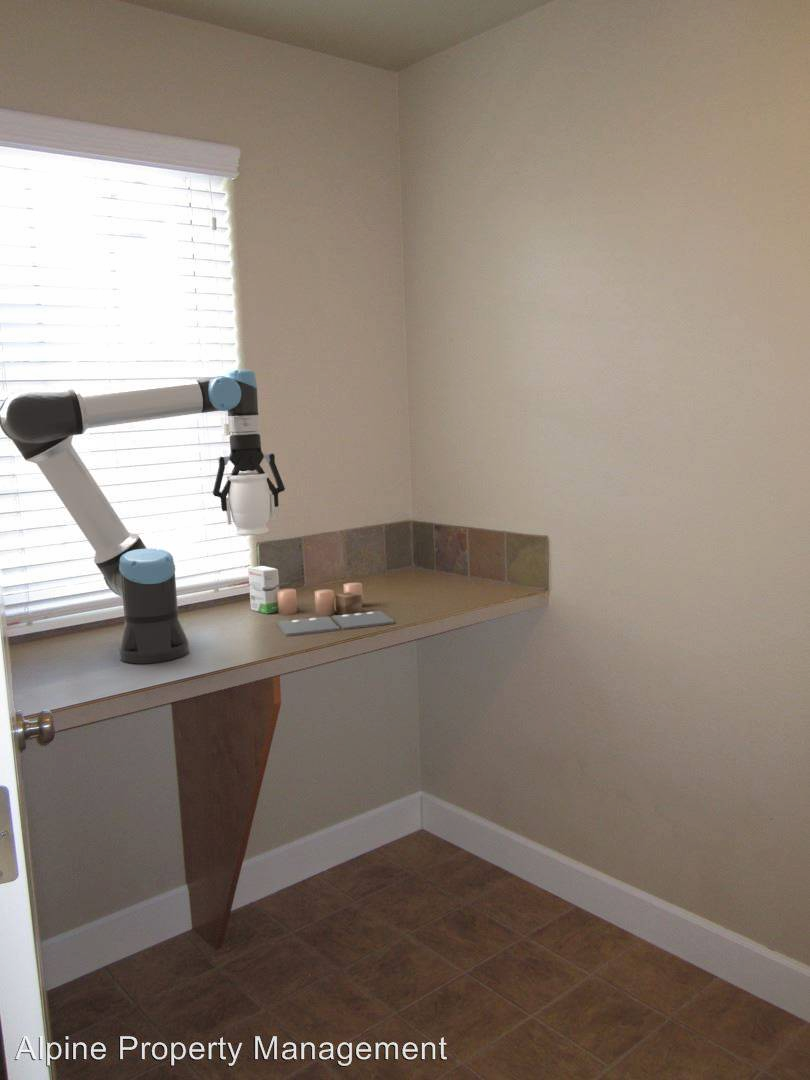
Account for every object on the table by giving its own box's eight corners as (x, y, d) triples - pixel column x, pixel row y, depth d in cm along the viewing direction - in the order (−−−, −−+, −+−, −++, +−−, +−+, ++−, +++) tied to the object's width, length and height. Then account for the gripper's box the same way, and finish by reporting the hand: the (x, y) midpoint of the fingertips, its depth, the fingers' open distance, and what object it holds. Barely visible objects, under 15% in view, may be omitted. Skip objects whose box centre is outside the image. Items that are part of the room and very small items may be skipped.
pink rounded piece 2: (348, 608, 238) (347, 586, 237) (342, 605, 243) (340, 584, 242) (365, 606, 240) (364, 584, 239) (358, 603, 245) (357, 581, 244)
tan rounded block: (279, 615, 234) (278, 593, 233) (277, 611, 239) (275, 589, 238) (298, 613, 236) (297, 591, 235) (295, 609, 240) (294, 587, 239)
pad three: (343, 629, 216) (343, 626, 216) (332, 618, 229) (331, 615, 228) (394, 623, 220) (394, 620, 220) (380, 612, 232) (380, 609, 232)
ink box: (282, 611, 239) (279, 568, 237) (266, 614, 236) (263, 571, 234) (265, 606, 246) (262, 564, 244) (249, 609, 242) (247, 567, 241)
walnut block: (345, 616, 231) (344, 597, 230) (336, 612, 235) (335, 594, 234) (362, 613, 233) (361, 594, 232) (352, 610, 237) (351, 591, 237)
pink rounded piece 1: (317, 616, 231) (316, 594, 230) (314, 612, 236) (312, 590, 235) (336, 614, 232) (335, 592, 232) (332, 610, 237) (331, 588, 236)
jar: (264, 536, 218) (260, 475, 215) (224, 536, 219) (220, 476, 217) (278, 529, 228) (274, 471, 226) (240, 530, 230) (235, 472, 227)
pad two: (286, 636, 212) (286, 632, 212) (277, 624, 225) (277, 621, 224) (339, 630, 216) (339, 626, 216) (328, 618, 228) (328, 615, 228)
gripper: (199, 436, 213) (206, 527, 216) (293, 431, 220) (299, 519, 223) (196, 435, 220) (203, 524, 223) (287, 430, 227) (293, 516, 230)
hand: (251, 522), depth 223 cm, fingers closed on jar, 10 cm apart
